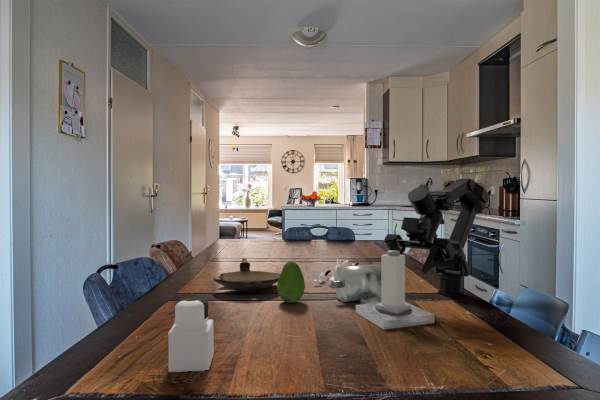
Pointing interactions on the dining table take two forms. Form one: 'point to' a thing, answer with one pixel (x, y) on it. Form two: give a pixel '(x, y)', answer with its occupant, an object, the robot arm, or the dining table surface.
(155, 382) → the dining table surface
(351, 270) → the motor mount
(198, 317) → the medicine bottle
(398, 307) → the white pedestal with button
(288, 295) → the avocado
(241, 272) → the oil lamp
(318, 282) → the miniature set
